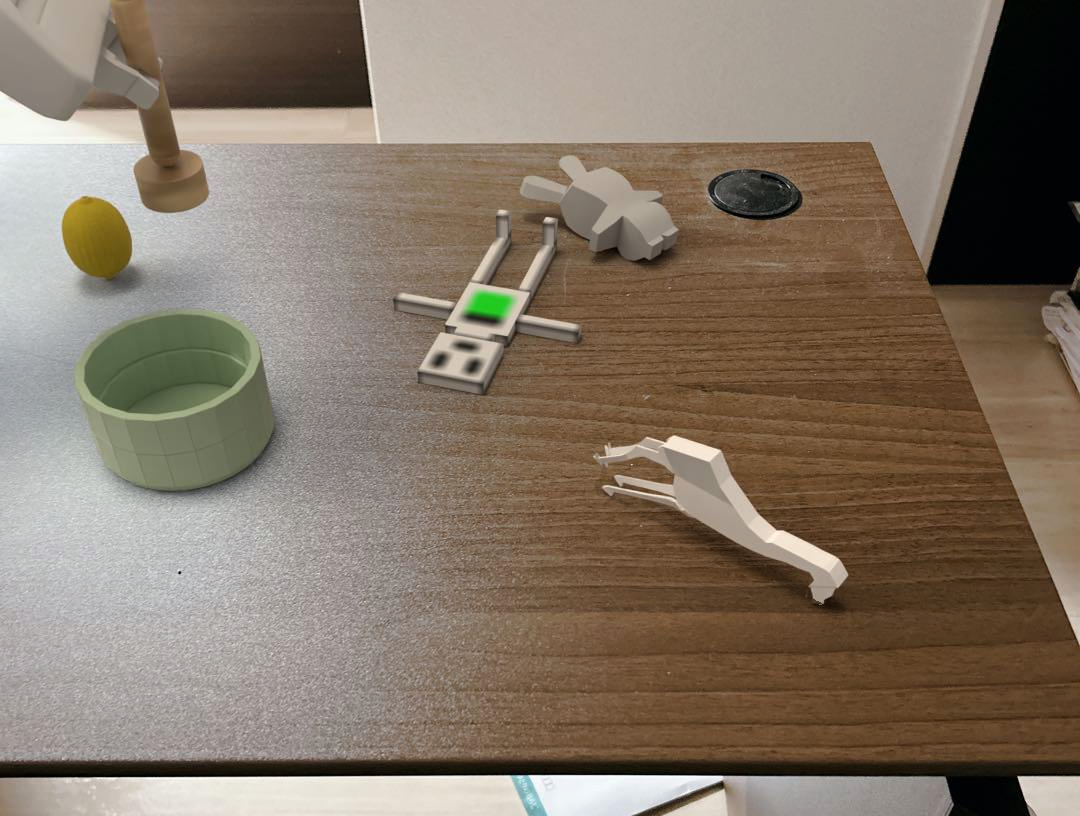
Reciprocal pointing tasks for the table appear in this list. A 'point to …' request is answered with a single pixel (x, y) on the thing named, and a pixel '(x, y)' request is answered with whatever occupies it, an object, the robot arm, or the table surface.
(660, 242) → the bunny figurine
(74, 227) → the lemon
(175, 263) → the table surface
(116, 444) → the bowl
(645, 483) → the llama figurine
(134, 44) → the wooden tamper
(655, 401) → the table surface
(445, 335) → the robot figure
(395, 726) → the table surface
